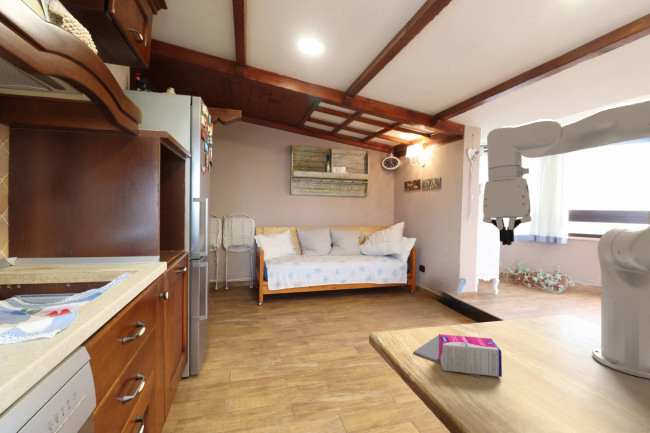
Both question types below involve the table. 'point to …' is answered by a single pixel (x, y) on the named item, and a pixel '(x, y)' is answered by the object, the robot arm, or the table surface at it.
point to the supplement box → (470, 355)
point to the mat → (433, 352)
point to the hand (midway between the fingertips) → (507, 244)
